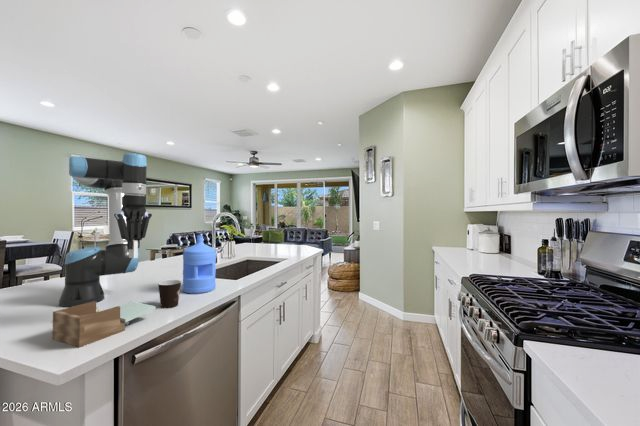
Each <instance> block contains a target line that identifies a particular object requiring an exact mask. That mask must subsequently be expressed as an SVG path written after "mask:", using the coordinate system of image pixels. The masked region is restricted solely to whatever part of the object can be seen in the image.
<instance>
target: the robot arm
mask: <svg viewBox="0 0 640 426" xmlns="http://www.w3.org/2000/svg"><path fill="white" fill-rule="evenodd" d="M147 168H148V163H147V157H146V156H145V155H144V154H140V153H133V152H125V153H123V155H122V160H121V161H120V160H112V159H104V158H103V159H102V158H94V157H86V156H85V157H84V156H77V155H75V156H74V155H73V156H72V155H71V156H70V157H69V158H68V174H69V176H70V177H72V178H73V180H74V181H75V182H76V183H78V184H80V185H82V186H85V187H87V188H88V187H89V188H93V189H104V193H105V194H106V195H107V196H108V221H109V222H108V224H109V225H108V226H109V228H108V229H109V233H108V235H109V243H107V244H106V245H105V249H102V250H101V247H99V246H94V247H85V248H79V249H74V250H70V251H69V252H67V253H66V254H65V261H64V265H65V266H64V267H65V268H64V269H65V271H64V287H63V290H62V292H61V294H60V296H59V299H58V306H60V307H63V308H70V307H73V306H77V305H81V304H85V303H89V302H93V301H96V303H100V302H101V301H103V300H104V299H105V292H104V289H103V287H102V285H101V282H100V278H101V277H103V276H108V275H109V276H111V275H119V274H127V273H134V272H135V271H136V270H137V268H138V265H139V262H140V261H139V260H140V247H141V245H140V242H141V241H142V239H145V238H146V235H147V231H148V226H149V223H150V219H151V217H152V216H153V214H152V213H149V212H147V208H146V205H147V197H146V196H145V195H147Z"/></svg>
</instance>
